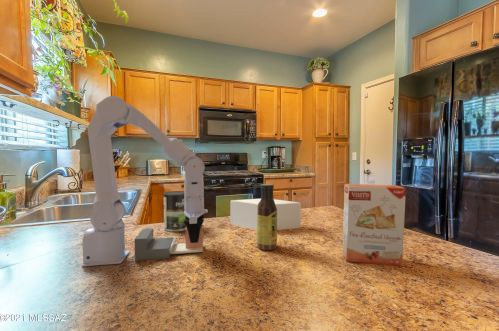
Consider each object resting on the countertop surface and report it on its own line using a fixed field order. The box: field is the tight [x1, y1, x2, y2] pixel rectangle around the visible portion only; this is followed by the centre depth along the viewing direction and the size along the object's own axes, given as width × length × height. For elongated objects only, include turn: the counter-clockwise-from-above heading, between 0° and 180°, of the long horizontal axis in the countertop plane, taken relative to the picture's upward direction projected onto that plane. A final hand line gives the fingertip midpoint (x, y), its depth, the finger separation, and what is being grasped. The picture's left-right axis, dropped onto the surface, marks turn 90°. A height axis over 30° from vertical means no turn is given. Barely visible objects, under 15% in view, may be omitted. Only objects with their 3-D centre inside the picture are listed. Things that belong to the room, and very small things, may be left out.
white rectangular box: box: [229, 198, 302, 231], centre depth 96 cm, size 14×29×10 cm, turn 81°
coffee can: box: [162, 190, 186, 233], centre depth 93 cm, size 10×10×14 cm
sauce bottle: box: [256, 183, 278, 251], centre depth 73 cm, size 6×6×20 cm
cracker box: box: [342, 183, 407, 267], centre depth 64 cm, size 14×6×21 cm, turn 79°
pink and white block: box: [170, 224, 204, 255], centre depth 70 cm, size 16×6×7 cm, turn 101°
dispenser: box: [133, 227, 177, 262], centre depth 69 cm, size 10×9×6 cm
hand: (194, 240), depth 71 cm, fingers closed on pink and white block, 2 cm apart
